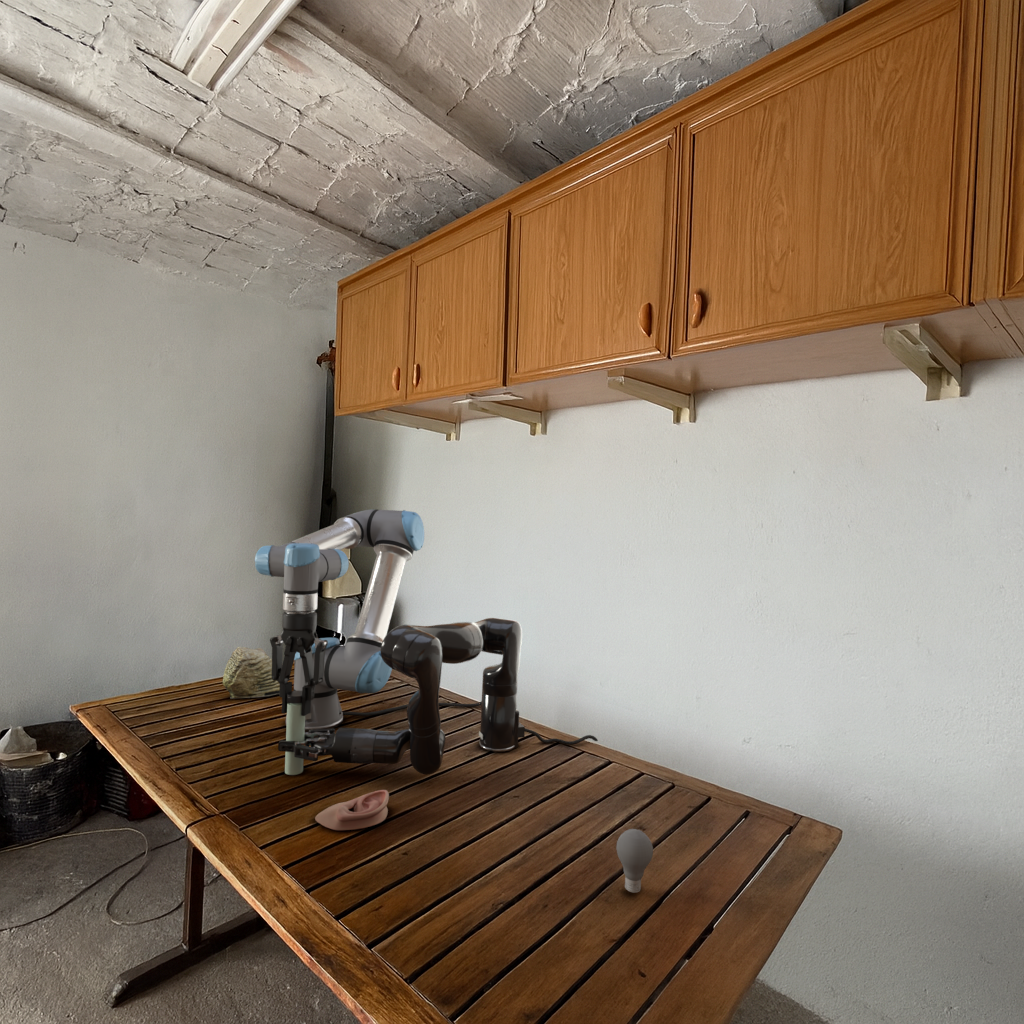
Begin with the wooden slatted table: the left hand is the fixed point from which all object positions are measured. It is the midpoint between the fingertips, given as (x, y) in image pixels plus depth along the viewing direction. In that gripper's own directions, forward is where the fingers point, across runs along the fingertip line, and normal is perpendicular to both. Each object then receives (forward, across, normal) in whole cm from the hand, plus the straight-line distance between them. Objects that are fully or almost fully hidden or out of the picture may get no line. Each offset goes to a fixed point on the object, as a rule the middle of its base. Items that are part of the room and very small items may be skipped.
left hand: (296, 712), depth 145 cm
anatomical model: (+14, +22, -15) cm, 30 cm away
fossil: (+14, -41, +45) cm, 62 cm away
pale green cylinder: (+14, 0, 0) cm, 14 cm away
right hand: (+7, -3, 0) cm, 7 cm away
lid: (-4, 0, 0) cm, 4 cm away
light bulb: (+14, +77, -24) cm, 82 cm away
